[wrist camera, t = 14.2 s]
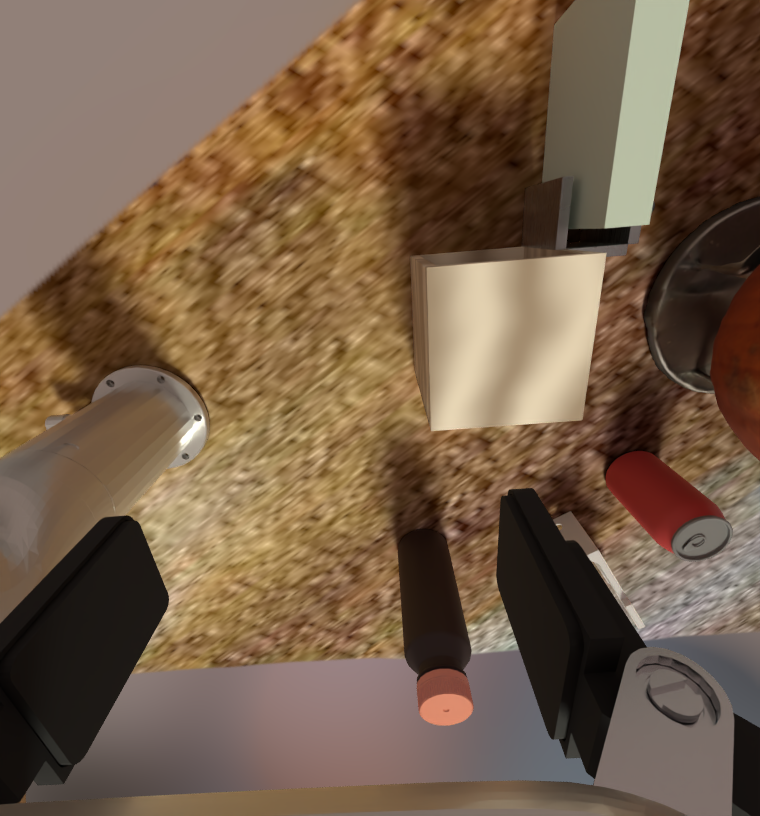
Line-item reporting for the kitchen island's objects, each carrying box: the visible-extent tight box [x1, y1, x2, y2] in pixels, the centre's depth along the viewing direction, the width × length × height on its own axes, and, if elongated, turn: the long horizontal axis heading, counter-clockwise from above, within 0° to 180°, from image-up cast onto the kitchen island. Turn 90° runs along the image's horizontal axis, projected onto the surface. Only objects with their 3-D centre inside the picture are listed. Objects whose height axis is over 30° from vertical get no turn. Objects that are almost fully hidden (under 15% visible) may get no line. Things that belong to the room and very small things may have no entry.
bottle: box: [398, 529, 473, 726], centre depth 44 cm, size 7×7×20 cm
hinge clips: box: [521, 176, 655, 257], centre depth 34 cm, size 8×6×8 cm
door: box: [542, 0, 689, 229], centre depth 29 cm, size 15×4×12 cm, turn 5°
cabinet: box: [410, 247, 606, 431], centre depth 34 cm, size 12×12×14 cm
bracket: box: [553, 511, 645, 629], centre depth 49 cm, size 11×4×10 cm, turn 34°
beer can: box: [605, 451, 733, 562], centre depth 43 cm, size 7×7×12 cm
